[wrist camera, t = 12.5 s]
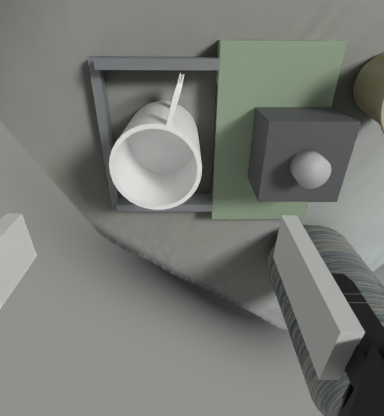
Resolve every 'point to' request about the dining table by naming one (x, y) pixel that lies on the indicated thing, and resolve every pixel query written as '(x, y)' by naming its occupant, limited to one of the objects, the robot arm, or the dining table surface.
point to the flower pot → (371, 89)
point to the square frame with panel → (257, 126)
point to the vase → (319, 389)
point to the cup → (158, 155)
